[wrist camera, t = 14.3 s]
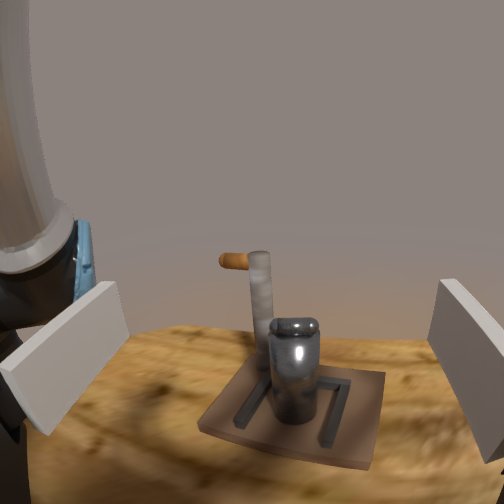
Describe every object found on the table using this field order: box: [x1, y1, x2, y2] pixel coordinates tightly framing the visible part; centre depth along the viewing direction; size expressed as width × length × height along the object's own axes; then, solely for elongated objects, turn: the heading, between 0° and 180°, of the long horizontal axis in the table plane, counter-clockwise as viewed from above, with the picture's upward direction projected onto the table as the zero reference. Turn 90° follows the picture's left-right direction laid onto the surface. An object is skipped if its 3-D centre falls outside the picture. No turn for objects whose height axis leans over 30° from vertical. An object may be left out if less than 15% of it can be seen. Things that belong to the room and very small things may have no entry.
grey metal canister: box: [268, 317, 320, 425], centre depth 28 cm, size 5×5×12 cm
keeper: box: [197, 251, 386, 470], centre depth 30 cm, size 20×14×16 cm
